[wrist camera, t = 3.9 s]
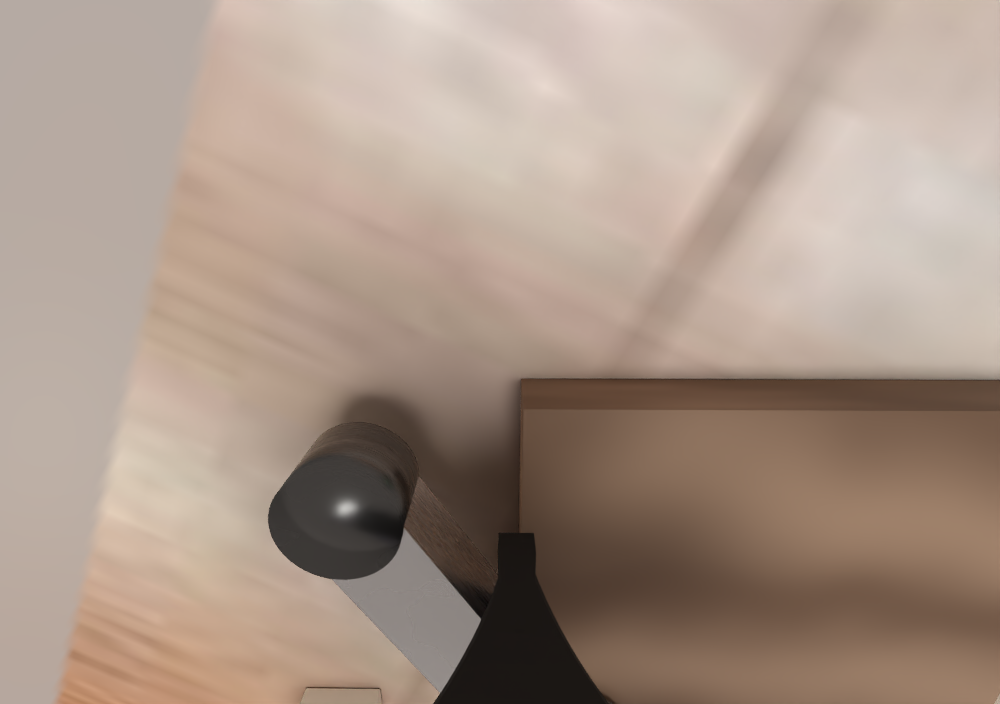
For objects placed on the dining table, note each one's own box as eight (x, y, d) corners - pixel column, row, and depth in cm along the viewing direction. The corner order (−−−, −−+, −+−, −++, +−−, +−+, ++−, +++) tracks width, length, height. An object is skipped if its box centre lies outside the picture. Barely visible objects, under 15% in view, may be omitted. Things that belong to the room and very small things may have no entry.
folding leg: (639, 735, 16) (661, 826, 14) (558, 765, 17) (567, 857, 14) (377, 400, 12) (346, 452, 9) (281, 457, 12) (231, 517, 10)
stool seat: (916, 702, 18) (963, 760, 17) (516, 697, 19) (517, 755, 17) (1060, 380, 14) (1149, 411, 12) (521, 378, 14) (523, 409, 12)
